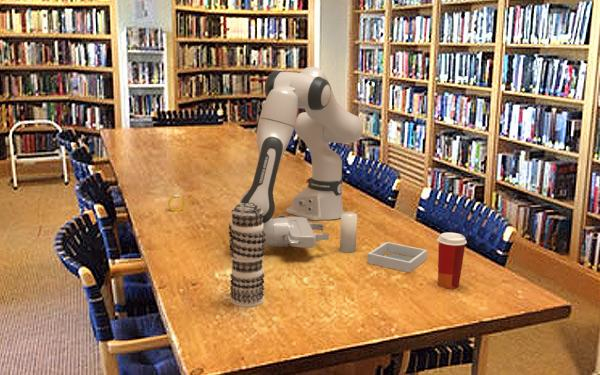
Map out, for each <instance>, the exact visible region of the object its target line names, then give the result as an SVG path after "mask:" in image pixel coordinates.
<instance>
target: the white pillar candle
mask: <svg viewBox="0 0 600 375" xmlns="http://www.w3.org/2000/svg"><path fill="white" fill-rule="evenodd" d="M357 229H358V213H357V212H354V211H344V212H343V213H341V218H340V238H339V242H340V243H339V251H340V252H341V253H345V254H349V253H350V254H353V253H355V252H356V251H357V250H356V249H357V231H358V230H357Z"/></svg>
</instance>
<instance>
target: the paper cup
mask: <svg viewBox="0 0 600 375" xmlns="http://www.w3.org/2000/svg"><path fill="white" fill-rule="evenodd" d="M436 241H437V242H438V249H437V250H438V251H437V252H438V254H437V255H438V256H437V257H438V258H437V260H438V262H437V266H438V267H437V283H438V284H437V285H438V286H440V287H441V288H444V289H451V290H452V289H456V288H459V285H460V280H461V275H462V269H463V263H464V256H465V255H464V253H465V247H466V244H467V243H468V242H467V240H466V237H465V235H463V234H461V233H456V232H443V233H441V234H440V235H439V236H438V238H437V239H436Z"/></svg>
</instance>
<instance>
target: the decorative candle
mask: <svg viewBox="0 0 600 375" xmlns="http://www.w3.org/2000/svg"><path fill="white" fill-rule="evenodd" d="M263 213H264V210H263V209H261V208H260V206H259V205H257V204H255V203H241V204H239V203H238V204H237V205H235V207H234V208H233V209H231V215H232V216H231V220H232V225H231V226H230V227H229V226H228V230H229V231H228V237H229V238H230V239H229V246H228V247H229V250H230V251H231V252H230V253H229V255H230V259H231V261H232V262H231V264H232V265H231V273H230V276H229V277H230V285H231V286H230V287H229V289H230V293H229V295H230V302H231V303H232V305H235V306H237V307H244V308H249V307H250V308H253V307H256V306H257V307H258V306H259V305H261V304H263V302H264V301H265V298H264V296H265V285H264V283H265V281H264V280H265V279H264V278H265V274H264V267H263V259H264V258H265V255H266V253H265V251H264V250H265V249H266V246H264V245H262V243H264V242H265V241H266V239H265V238H263V237H264V236H265V235H266V233H265V232H263V231H262V230H263ZM231 227H232V229H231ZM232 233H233V235H232Z"/></svg>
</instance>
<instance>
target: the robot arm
mask: <svg viewBox="0 0 600 375" xmlns="http://www.w3.org/2000/svg"><path fill="white" fill-rule="evenodd" d="M265 79H266V80H265V82H264V94H265V96H266V99H265V101H264V103H263V106H262V109H261V112H260V115H259V119H258V123H257V129H256V144H257V150H258V158H257V159H258V160H257V164H256V168H255V173H254V176H253V181H252V184H251V187H250V189H247V191H245V192H244V193H243V194H242V195H241V198H240V199H239V203H238V204H241V203H255V204H257V205H259V206H260V208H261V209H263V210H264V213H263V230H262V231H263V232H265V233H266V235H265V236H264V237H263V238H265V239H266V241H265V242H264V243H262V245H264V247H266V246H267V247H271V248H274V247H275V248H279V247H283V248H284V247H288V246H289V245H290V246H291V247H293V248H315V247H316V245H317V242H321V241H323V240H324V241H327V240H329V238H330V235H329V232H322V233H315V232H314V230H317V231H323V230H324V224H323V223H316V222H309V220H311V221H321V220H322V221H323V220H324V221H325V220H327V221H328V220H330V221H331V220H337V219H341V213H343V212H345V211H344V208H343V199H342V198H343V197H342V193H343V178H342V177H343V176H342V172H343V161H342V160H343V159H342V158H341V156H340V155H339V153H337V152H336V151H334V150H332V149H331V148H330V146H329V143H334V144H350V143H356V142H358V141H359V140H360V139H361V137H362V135H363V132H364V124H363V122H362V119H361V118H360V117H359V116H358V115H357V114H356V115H355V114H354V113H351V112H349V111H348V110H346V108H344V107H343V106H342V105H341V104H340V103H338V101H337V99H336V97H335V95H334V92H333V89H332V87H331V84H330V81H329V80H328V77H327V76H326V75H325V73H324V72H323V70H322V69H321V68H319V67H316V66H309V67H305V68H304V69H302V70H300V72H296V71H285V70H275V71H274V70H273V71H272V72H270V73H269V75H267V77H266V78H265ZM298 109H304V110H305V112H304V111H303V112H301V113H299V114H298V115H297V113H298ZM294 132H295V134H296V136H297V137H298V138H300V139H301V140H302V141H303V143H305V145H306V147H307V149H308V151H309V154H310V157H311V158H310V159H311V169H312V170H311V177H309V178H308V179H305V181H306V182H305V183H306V184H307V186H306V187H305V188H304V189H302V190H301V191H299V192H298V193H296V195H294V197H293V199H292V204H291V205H289V207H287V208H286V210H285V213H286V214H289V215H293V216H286V215H285V214H284V215H283V214H279V215H278V216H277V217H276V218H273V215H274V214H275V209H276V206H275V205H276V204H275V199H274V187H275V185H276V184H275V182H276V180H277V175H278V170H279V167H280V162H281V160H282V158H283V156H284V155H285V152H286V149H287V148H288V146H289V143H290V141H291V139H292V136H293V133H294ZM231 225H232V219H231V220H230V221H229V223H228V228H229V227H230V226H231ZM231 229H232V227H231ZM232 235H233V233H232Z"/></svg>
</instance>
